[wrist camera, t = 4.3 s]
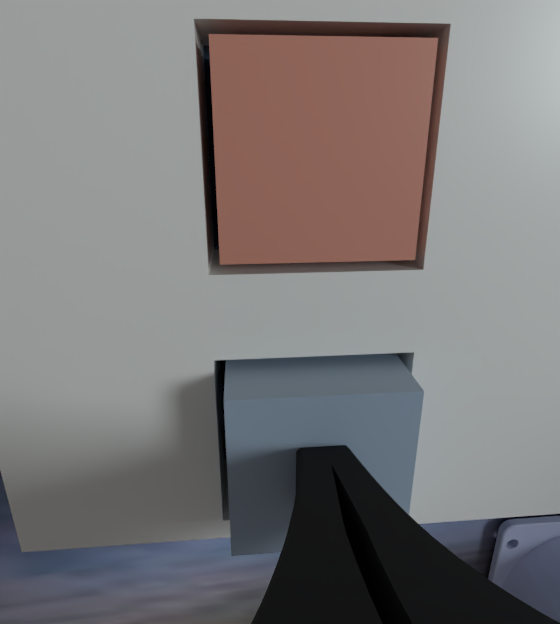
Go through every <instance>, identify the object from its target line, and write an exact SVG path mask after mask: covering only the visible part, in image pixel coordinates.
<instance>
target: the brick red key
mask: <svg viewBox="0 0 560 624" xmlns="http://www.w3.org/2000/svg"><path fill="white" fill-rule="evenodd" d="M437 45H438V38H416V37H357V36H298V35H239V34H209V52H210V73H211V93H212V114H213V134H214V155H215V175H216V196H217V216H218V237H219V257H220V265H227V264H269V263H312V262H354V261H397V260H415V256H416V247H417V237H418V227H419V218H420V208H421V199H422V189H423V179H424V170H425V160H426V151H427V141H428V131H429V122H430V112H431V102H432V93H433V83H434V74H435V64H436V54H437Z"/></svg>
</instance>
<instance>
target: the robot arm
mask: <svg viewBox="0 0 560 624" xmlns="http://www.w3.org/2000/svg"><path fill="white" fill-rule="evenodd" d="M251 624H560V516H548V517H534V518H521V519H510V520H506V521H504V522H503V523H502V524H501V525H500V527H499V530H498V534H497V539H496V544H495V548H494V553H493V558H492V562H491V567H490V572H489V576H488V579H487V578H486V577H484V576H483V575H482V574H480V573H479V572H477V571H476V570H475V569H473V568H472V567H470V566H469V565H467V564H466V563H465V562H463V561H462V560H461V559H459V558H458V557H457V556H455V555H454V554H453V553H452V552H450V551H449V550H448V549H447V548H446V547H444V546H443V545H442V544H441V543H439V542H438V541H437V540H436V539H435V538H433V537H432V536H431V535H430V534H429V533H428V532H427V531H425V530H424V529H423V528H422V527H421V526H420V525H419V524H418V523H417V522H416V521H415V520H414V519H413V518H412V517H411V516H410V515H408V514H407V513H406V512H405V511H404V510H403V509H402V508H401V507H400V506H399V505H398V504H397V503H396V501H395V500H394V499H393V498H392V497H391V496H390V495H389V494H388V493H387V492H386V491H385V490H384V489H383V488H382V486H381V485H380V484H379V483H378V482H377V481H376V480H375V479H374V477H373V476H372V475H371V474H370V473H369V472H368V470H367V469H366V468H365V467H364V466H363V464H362V463H361V462H360V461H359V460H358V458H357V457H356V456H355V455H354V453H353V452H352V451H351V450H350V448H348V447H347V446H346V445H338V446H320V447H303V448H299V449H298V450H297V451H296V495H295V501H294V507H293V511H292V515H291V519H290V523H289V527H288V531H287V535H286V538H285V542H284V545H283V548H282V551H281V554H280V557H279V560H278V563H277V566H276V568H275V571H274V574H273V576H272V579H271V581H270V584H269V586H268V589H267V591H266V594H265V596H264V598H263V600H262V603H261V605H260V607H259V609H258V611H257V613H256V615H255V617H254V619H253V621H252V623H251Z"/></svg>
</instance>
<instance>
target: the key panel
mask: <svg viewBox="0 0 560 624" xmlns="http://www.w3.org/2000/svg"><path fill="white" fill-rule="evenodd" d="M209 34H239V35H298V36H357V37H416V38H438V45H437V54H436V64H435V74H434V83H433V93H432V102H431V112H430V122H429V131H428V141H427V151H426V160H425V170H424V179H423V189H422V199H421V208H420V218H419V227H418V237H417V247H416V256H415V260H397V261H354V262H312V263H269V264H227V265H220V257H219V249H214V237H213V218H212V199H211V180H210V161H209V142H208V123H207V104H206V85H205V66H204V47H203V46H209ZM387 353H396V354H397V355H398V357H399V358H400V359H401V361H402V362H403V363H404V365H405V366H406V367H407V369H408V370H409V371H410V373H411V374H412V375H413V377H414V378H415V379H416V381H417V382H418V383H419V385H420V386H421V388H422V389H423V390H424V397H423V405H422V414H421V422H420V430H419V438H418V446H417V454H416V462H415V470H414V478H413V486H412V494H411V502H410V510H409V515H410V516H411V517H412V518H413V519H414V520H415V521H416V522H417V523H418V524H423V523H437V522H451V521H465V520H479V519H493V518H507V517H521V516H535V515H549V514H560V0H0V471H1V475H2V479H3V483H4V486H5V490H6V494H7V498H8V502H9V505H10V509H11V513H12V517H13V521H14V524H15V528H16V532H17V536H18V540H19V543H20V547H21V551H22V552H32V551H46V550H60V549H74V548H88V547H102V546H116V545H130V544H144V543H158V542H172V541H186V540H200V539H213V538H227V537H231V535H230V515H229V496H228V476H227V459H225V445H224V426H223V408H222V389H221V370H220V360H238V359H263V358H288V357H312V356H337V355H362V354H387Z"/></svg>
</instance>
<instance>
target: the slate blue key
mask: <svg viewBox="0 0 560 624" xmlns="http://www.w3.org/2000/svg"><path fill="white" fill-rule="evenodd" d="M423 397H424V390H423V389H422V388H421V386H420V385H419V383H418V382H417V381H416V379H415V378H414V377H413V375H412V374H411V373H410V371H409V370H408V369H407V367H406V366H405V365H404V363H403V362H402V361H401V359H400V358H399V357H398V355H397V354H396V353H387V354H362V355H337V356H312V357H288V358H263V359H238V360H226V364H225V384H224V418H225V437H226V457H227V476H228V496H229V515H230V535H231V554H232V556H236V555H250V554H263V553H276V552H281V551H282V548H283V545H284V542H285V538H286V535H287V531H288V527H289V523H290V519H291V515H292V511H293V507H294V501H295V495H296V451H297V450H298V449H299V448H303V447H320V446H338V445H346V446H347V447H348V448H350V450H351V451H352V452H353V453H354V455H355V456H356V457H357V458H358V460H359V461H360V462H361V463H362V464H363V466H364V467H365V468H366V469H367V470H368V472H369V473H370V474H371V475H372V476H373V477H374V479H375V480H376V481H377V482H378V483H379V484H380V485H381V486H382V488H383V489H384V490H385V491H386V492H387V493H388V494H389V495H390V496H391V497H392V498H393V499H394V500H395V501H396V503H397V504H398V505H399V506H400V507H401V508H402V509H403V510H404V511H405V512H406V513H407V514H408V515H409V510H410V502H411V494H412V486H413V478H414V470H415V462H416V454H417V446H418V438H419V430H420V422H421V414H422V405H423Z"/></svg>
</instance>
